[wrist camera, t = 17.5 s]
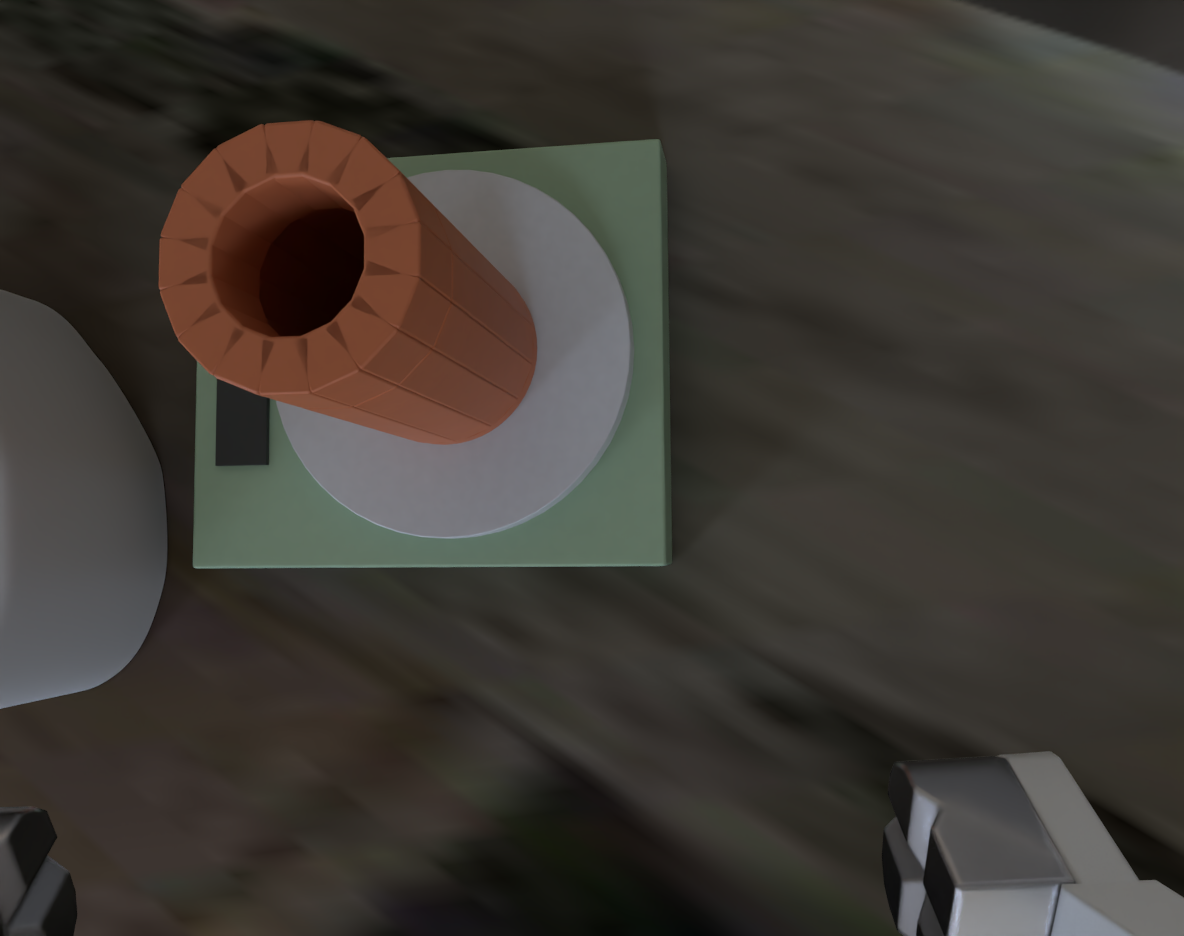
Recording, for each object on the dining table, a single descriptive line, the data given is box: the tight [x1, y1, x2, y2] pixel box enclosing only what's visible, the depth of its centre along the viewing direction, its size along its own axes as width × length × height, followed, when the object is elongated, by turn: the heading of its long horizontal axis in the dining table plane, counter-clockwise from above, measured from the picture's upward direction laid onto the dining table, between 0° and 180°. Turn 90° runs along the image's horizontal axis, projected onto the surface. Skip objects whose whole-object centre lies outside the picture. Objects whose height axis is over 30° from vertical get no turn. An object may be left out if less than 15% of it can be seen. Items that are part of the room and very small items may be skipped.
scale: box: [193, 139, 672, 568], centre depth 31 cm, size 14×12×3 cm
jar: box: [159, 120, 537, 445], centre depth 25 cm, size 5×5×10 cm
